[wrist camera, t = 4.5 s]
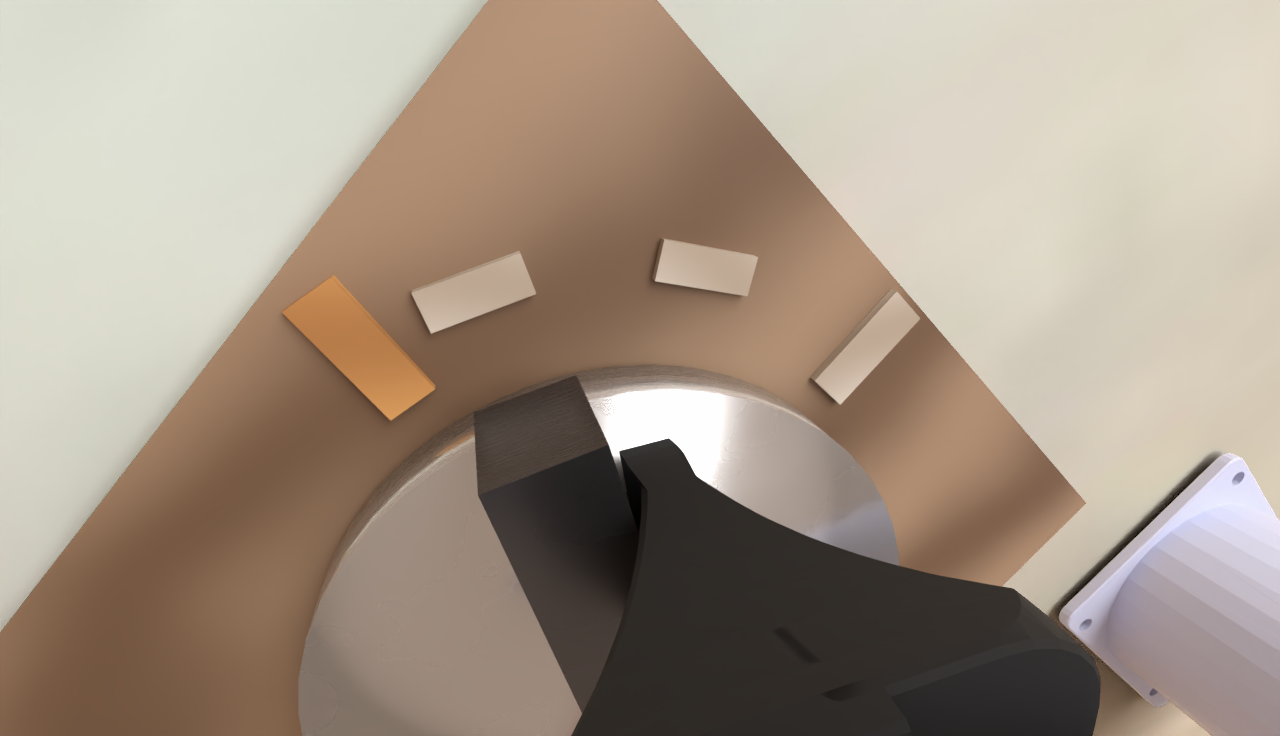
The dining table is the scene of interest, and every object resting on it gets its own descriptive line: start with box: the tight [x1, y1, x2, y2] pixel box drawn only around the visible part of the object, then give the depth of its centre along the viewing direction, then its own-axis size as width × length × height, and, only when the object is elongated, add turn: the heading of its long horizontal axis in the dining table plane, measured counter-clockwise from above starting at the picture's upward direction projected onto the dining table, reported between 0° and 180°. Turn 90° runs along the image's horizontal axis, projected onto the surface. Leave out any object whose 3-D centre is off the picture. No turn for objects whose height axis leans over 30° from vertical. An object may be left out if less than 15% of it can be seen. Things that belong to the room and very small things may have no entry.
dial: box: [298, 364, 899, 736], centre depth 13 cm, size 13×14×4 cm
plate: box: [0, 0, 1086, 736], centre depth 15 cm, size 20×20×1 cm
